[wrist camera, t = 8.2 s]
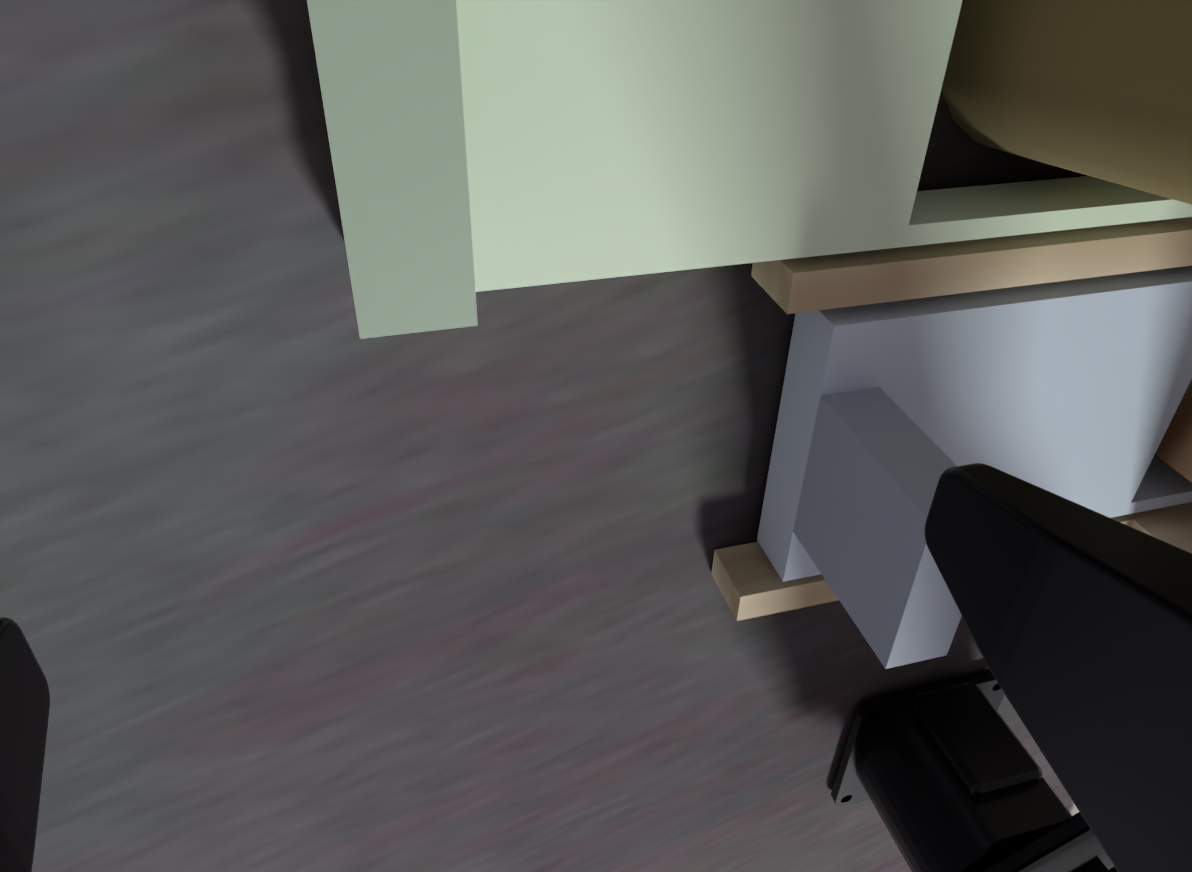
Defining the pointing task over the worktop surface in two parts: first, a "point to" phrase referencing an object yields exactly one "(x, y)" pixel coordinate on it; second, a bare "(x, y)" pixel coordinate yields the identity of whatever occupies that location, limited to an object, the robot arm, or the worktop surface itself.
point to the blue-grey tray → (966, 429)
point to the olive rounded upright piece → (1080, 86)
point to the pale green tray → (644, 143)
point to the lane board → (941, 273)
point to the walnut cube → (1179, 438)
